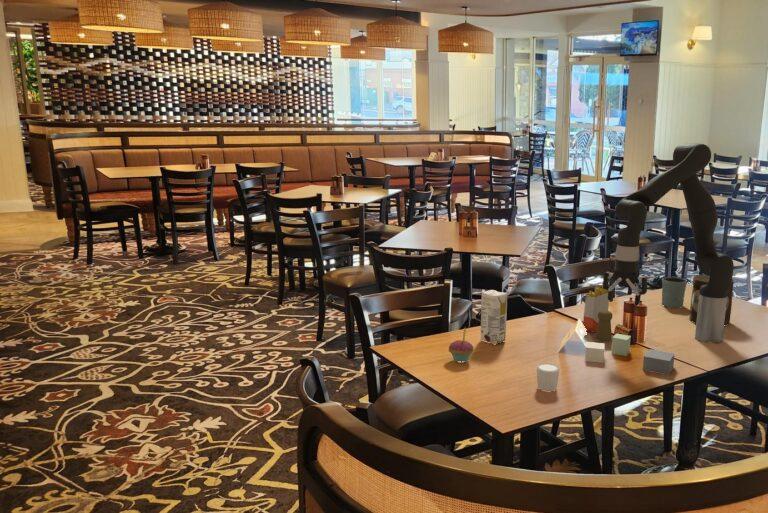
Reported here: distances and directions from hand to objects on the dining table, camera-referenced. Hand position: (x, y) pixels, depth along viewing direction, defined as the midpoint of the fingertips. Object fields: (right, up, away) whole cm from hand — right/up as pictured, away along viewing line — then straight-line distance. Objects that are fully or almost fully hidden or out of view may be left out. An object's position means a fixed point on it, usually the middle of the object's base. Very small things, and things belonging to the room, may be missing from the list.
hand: (623, 303), depth 224 cm
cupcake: (-57, -20, -2) cm, 61 cm away
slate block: (+8, -21, -10) cm, 25 cm away
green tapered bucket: (+44, -6, +60) cm, 75 cm away
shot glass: (-33, -25, -25) cm, 49 cm away
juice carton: (-43, -16, +17) cm, 49 cm away
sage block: (0, -18, +4) cm, 18 cm away
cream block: (-11, -19, -1) cm, 22 cm away
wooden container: (+49, -10, +38) cm, 63 cm away
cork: (-1, -15, +18) cm, 23 cm away
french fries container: (-1, -13, +29) cm, 31 cm away
